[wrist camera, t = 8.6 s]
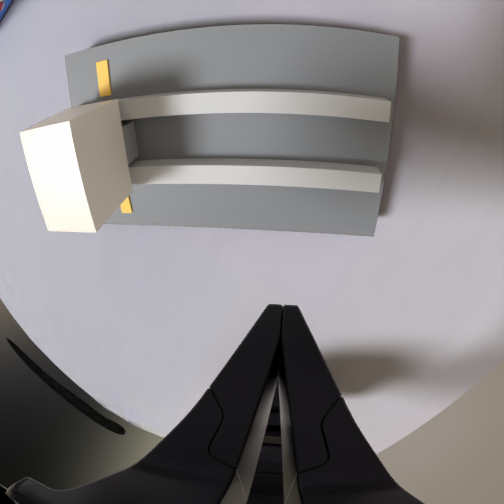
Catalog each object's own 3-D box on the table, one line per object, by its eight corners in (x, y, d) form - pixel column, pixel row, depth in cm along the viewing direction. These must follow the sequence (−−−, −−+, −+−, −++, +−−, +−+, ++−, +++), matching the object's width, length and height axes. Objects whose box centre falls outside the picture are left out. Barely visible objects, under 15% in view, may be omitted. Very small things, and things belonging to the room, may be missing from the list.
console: (367, 218, 19) (376, 246, 17) (111, 208, 21) (91, 232, 19) (387, 37, 13) (406, 36, 10) (84, 52, 14) (53, 58, 12)
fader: (143, 180, 17) (96, 232, 13) (99, 181, 17) (48, 230, 13) (130, 93, 14) (69, 121, 10) (84, 101, 14) (19, 132, 10)
